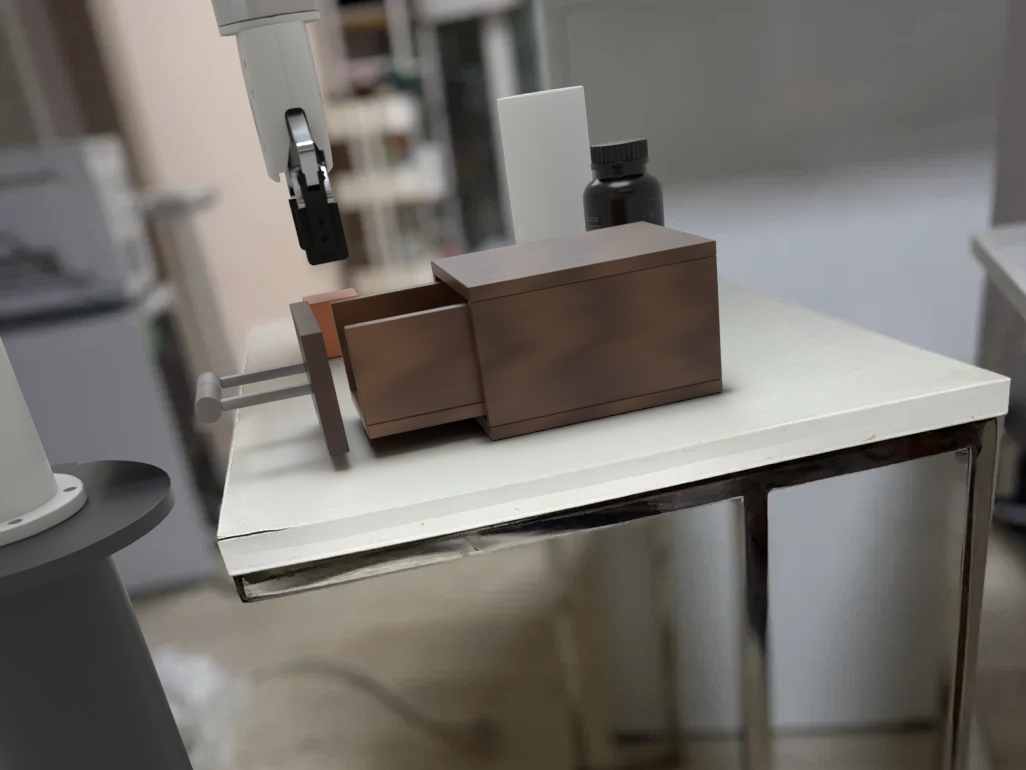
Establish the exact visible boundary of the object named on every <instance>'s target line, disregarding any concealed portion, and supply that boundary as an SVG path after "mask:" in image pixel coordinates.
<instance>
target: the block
mask: <svg viewBox="0 0 1026 770" xmlns="http://www.w3.org/2000/svg"><path fill="white" fill-rule="evenodd" d="M356 296H360V294H358V292H357V291H356V289H355V287H349V288H344V289H339V290H332V291H327V292H323V293H316V294H312V295H306V296H302V301H308V303H309V305H310V307H311V309H312V312H313V314H314V316H315V318H316V320H317V323H318V325H319V327H320V329H321V332H322V335H323V339H324V343H325V348H326V352H327V356H328V359H332V358H336V357H342V354H341V350H340V345H339V341H338V336H337V332H336V328H335V323H334V319H333V314H332V310H331V306H330V301H335V300H340V299H345V298H351V297H356Z"/></svg>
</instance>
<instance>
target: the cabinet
mask: <svg viewBox="0 0 1026 770" xmlns="http://www.w3.org/2000/svg"><path fill="white" fill-rule="evenodd" d="M717 257H718V256H717V240H715V239H711V238H708V237H705V236H700V235H697V234H693V233H689V232H685V231H682V230H677V229H673V228H670V227H667V226H665V227H663V226H659V225H655V224H651V223H647V222H644V221H641V222H635V223H630V224H624V225H619V226H614V227H608V228H603V229H598V230H592V231H587V232H581V233H576V234H571V235H565V236H560V237H555V238H549V239H544V240H538V241H533V242H528V243H522V244H517V245H516V244H512V245H511V244H510V245H507V246H501V247H496V248H491V249H486V250H480V251H475V252H474V251H473V252H469V253H462V254H459V255H453V256H447V257H442V258H437V259H432V260H430V266H431V273H432V279H433V282H435V281H441V280H442V281H443V282H445V283H446V284H447V285H449V286H450V287H451V288H453V289H454V290H455V291H456V292H458V293H459V294H460V295H462V296H463V297H464V298H465V299H467V300H468V305H469V312H470V318H471V324H472V330H473V336H474V342H475V349H476V355H477V361H478V367H479V373H480V379H481V386H482V392H483V398H484V404H485V410H486V415H483V416H478V417H473V418H474V419H475V421H476V422H477V423H478V424H479V425H480V427H481V428H482V430H483V431H484V432H485V433H486V434H487V435H488V437H489V438H490V439H491V440H492V441H497V440H501V439H506V438H511V437H515V436H520V435H525V434H529V433H534V432H540V431H544V430H549V429H554V428H558V427H563V426H568V425H572V424H577V423H582V422H586V421H591V420H595V419H600V418H605V417H609V416H615V415H619V414H624V413H628V412H634V411H638V410H642V409H643V410H644V409H647V408H652V407H656V406H660V405H666V404H671V403H676V402H681V401H684V400H689V399H694V398H699V397H703V396H708V395H709V396H710V395H713V394H718V393H722V392H724V391H723V390H724V389H723V369H722V368H723V367H722V346H721V345H722V344H721V323H720V302H719V278H718V263H717V262H718V259H717Z"/></svg>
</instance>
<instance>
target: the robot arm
mask: <svg viewBox="0 0 1026 770" xmlns="http://www.w3.org/2000/svg"><path fill="white" fill-rule="evenodd" d="M210 1H211V2H210V3H211V6H212V10H213V13H214V17H215V21H216V25H217V28H218V29H217V30H218V33H219V37H222V38H223V37H234V36H235V41H236V47H237V52H238V57H239V63H240V67H241V72H242V77H243V82H244V86H245V88H246V94H247V98H248V102H249V106H250V109H251V114H252V118H253V123H254V125H255V130H256V133H257V137H258V141H259V145H260V149H261V153H262V158H263V161H264V164H265V169H266V173H267V175H268V177H269V178H270V179H271V180H272V181H274V182H275V183H281V176H280V174H282V173H284V177H285V181H286V185H287V190H288V194H289V197H290V198H288V204H289V208H290V212H291V216H292V220H293V225H294V229H295V233H296V237H297V241H298V245H299V247H300V249H301V250H302V251H305V255H306V260H307V262H308V264H309V265H310V266H312V267H313V266H319V265H324V264H329V263H335V262H340V261H345V260H347V259H348V258H349V256H350V254H349V248H348V244H347V239H346V235H345V231H344V226H343V221H342V218H341V217H342V216H341V212H340V208H339V203H338V202H337V201H335V197H334V192H333V187H332V185H331V182H330V178H329V174H328V173H330V172H331V171H332V169H333V167H334V162H333V155H332V154H333V153H332V148H331V143H330V141H331V140H330V136H329V130H328V124H327V118H326V112H325V108H324V103H323V96H322V93H321V88H320V83H319V79H318V73H317V69H316V64H315V60H314V55H313V52H312V46H311V42H310V37H309V32H308V28H307V24H311V23H314V22H319V21H322V17H321V14H320V11H319V10H320V9H319V4H318V0H210ZM50 465H51V464H50V462H49V459H48V456H47V454H46V451H45V448H44V447H43V444H42V442H41V439H40V435H39V433H38V431H37V427H36V426H35V423H34V420H33V418H32V415H31V413H30V410H29V407H28V405H27V402H26V399H25V397H24V394H23V392H22V389H21V387H20V383H19V381H18V379H17V376H16V374H15V371H14V368H13V366H12V364H11V360H10V358H9V356H8V353H7V351H6V348H5V345H4V343H3V340H2V338H1V336H0V547H3V546H6V545H9V544H12V543H15V542H18V541H21V540H24V539H27V538H29V537H32V536H34V535H37V534H39V533H42V532H44V531H46V530H48V529H50V528H52V527H55V526H56V525H58V524H60V523H62V522H64V521H65V520H67V519H69V518H70V517H71V516H73V515H74V514H76V513H77V512H78V511H79V510H80V509H81V508H82V507H83V506H84V505H85V503H86V501H87V493H86V490H85V487H84V485H83V483H82V481H81V480H80V479H78V478H76V477H74V476H71V475H66V474H56V473H53V472H52V469H51V467H50Z"/></svg>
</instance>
